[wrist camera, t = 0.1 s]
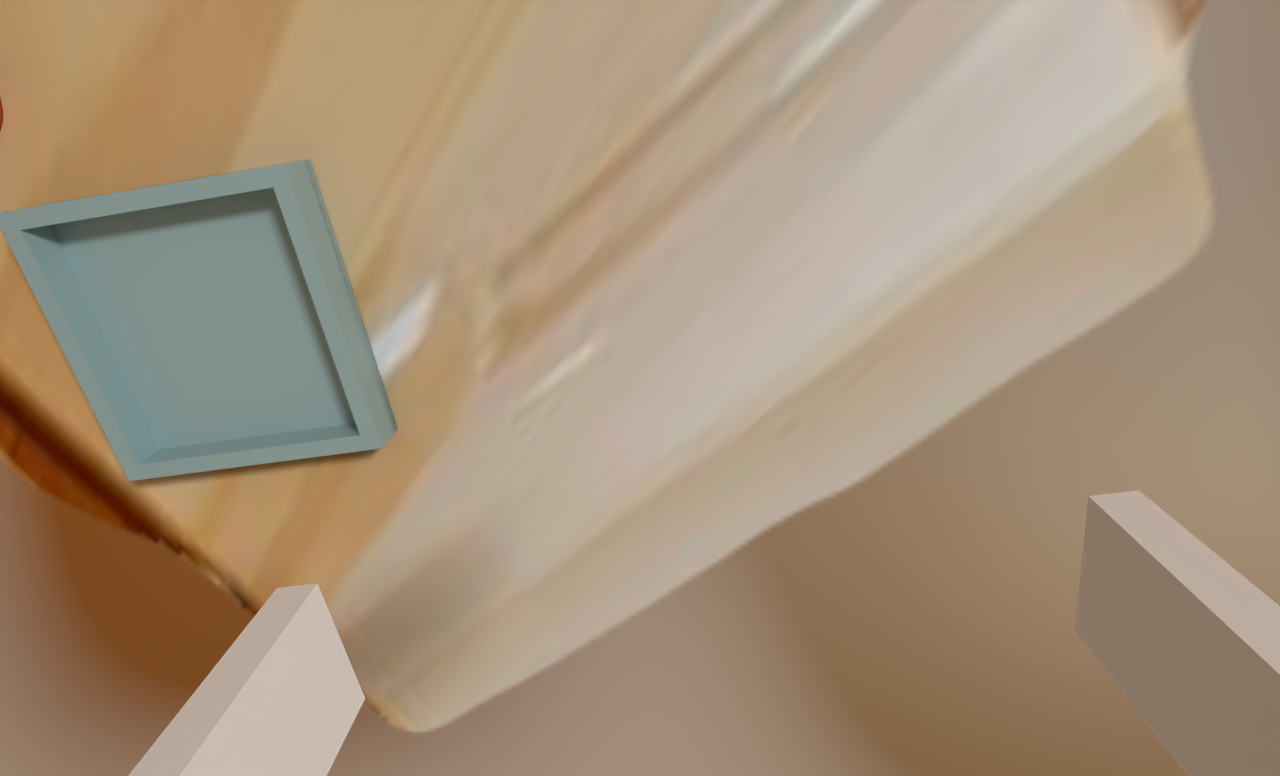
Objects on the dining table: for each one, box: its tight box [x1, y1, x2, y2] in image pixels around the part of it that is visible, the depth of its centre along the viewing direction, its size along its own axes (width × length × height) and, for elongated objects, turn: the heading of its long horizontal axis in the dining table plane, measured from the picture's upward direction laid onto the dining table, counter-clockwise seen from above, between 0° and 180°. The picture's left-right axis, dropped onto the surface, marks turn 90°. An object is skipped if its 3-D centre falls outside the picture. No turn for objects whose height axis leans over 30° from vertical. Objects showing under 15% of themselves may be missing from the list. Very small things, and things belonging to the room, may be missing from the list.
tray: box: [0, 160, 398, 481], centre depth 39 cm, size 16×16×3 cm
